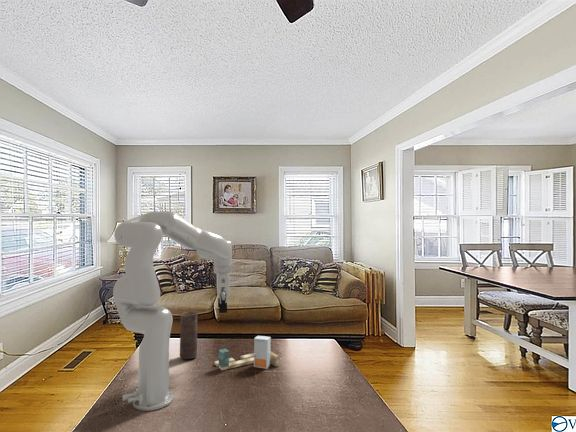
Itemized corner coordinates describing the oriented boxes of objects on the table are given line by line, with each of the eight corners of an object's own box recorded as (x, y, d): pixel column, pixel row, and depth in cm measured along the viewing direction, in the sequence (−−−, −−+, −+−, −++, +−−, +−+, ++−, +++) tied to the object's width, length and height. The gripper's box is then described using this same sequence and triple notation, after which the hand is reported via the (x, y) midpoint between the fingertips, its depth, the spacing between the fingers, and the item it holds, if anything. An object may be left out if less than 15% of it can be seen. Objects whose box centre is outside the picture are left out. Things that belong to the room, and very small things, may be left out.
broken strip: (217, 366, 152) (217, 363, 152) (214, 364, 154) (214, 361, 154) (263, 356, 164) (263, 353, 164) (260, 354, 166) (260, 351, 166)
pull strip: (229, 377, 141) (230, 358, 141) (218, 367, 150) (218, 349, 150) (278, 365, 153) (279, 348, 153) (265, 357, 162) (265, 340, 162)
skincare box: (253, 367, 151) (253, 338, 152) (257, 363, 155) (257, 335, 156) (267, 369, 150) (267, 339, 150) (270, 365, 154) (271, 336, 154)
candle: (194, 361, 157) (194, 314, 157) (177, 361, 157) (177, 314, 158) (199, 355, 165) (199, 310, 165) (182, 354, 165) (183, 310, 165)
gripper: (233, 272, 148) (233, 314, 148) (230, 266, 165) (229, 304, 165) (214, 272, 147) (214, 315, 147) (213, 267, 164) (212, 305, 163)
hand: (222, 309), depth 156 cm, fingers open, 9 cm apart
